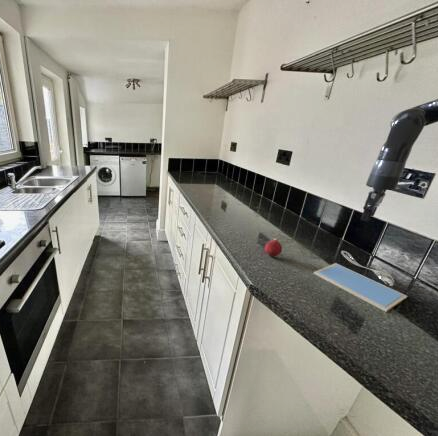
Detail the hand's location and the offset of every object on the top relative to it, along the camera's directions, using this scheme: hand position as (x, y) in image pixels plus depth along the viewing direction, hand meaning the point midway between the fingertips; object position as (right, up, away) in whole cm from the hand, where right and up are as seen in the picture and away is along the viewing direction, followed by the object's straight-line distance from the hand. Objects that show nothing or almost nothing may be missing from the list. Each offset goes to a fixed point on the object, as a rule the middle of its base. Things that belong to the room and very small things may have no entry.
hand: (366, 218), depth 84 cm
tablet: (-10, -22, -7) cm, 26 cm away
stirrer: (0, -19, +2) cm, 19 cm away
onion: (-31, -16, +8) cm, 36 cm away
